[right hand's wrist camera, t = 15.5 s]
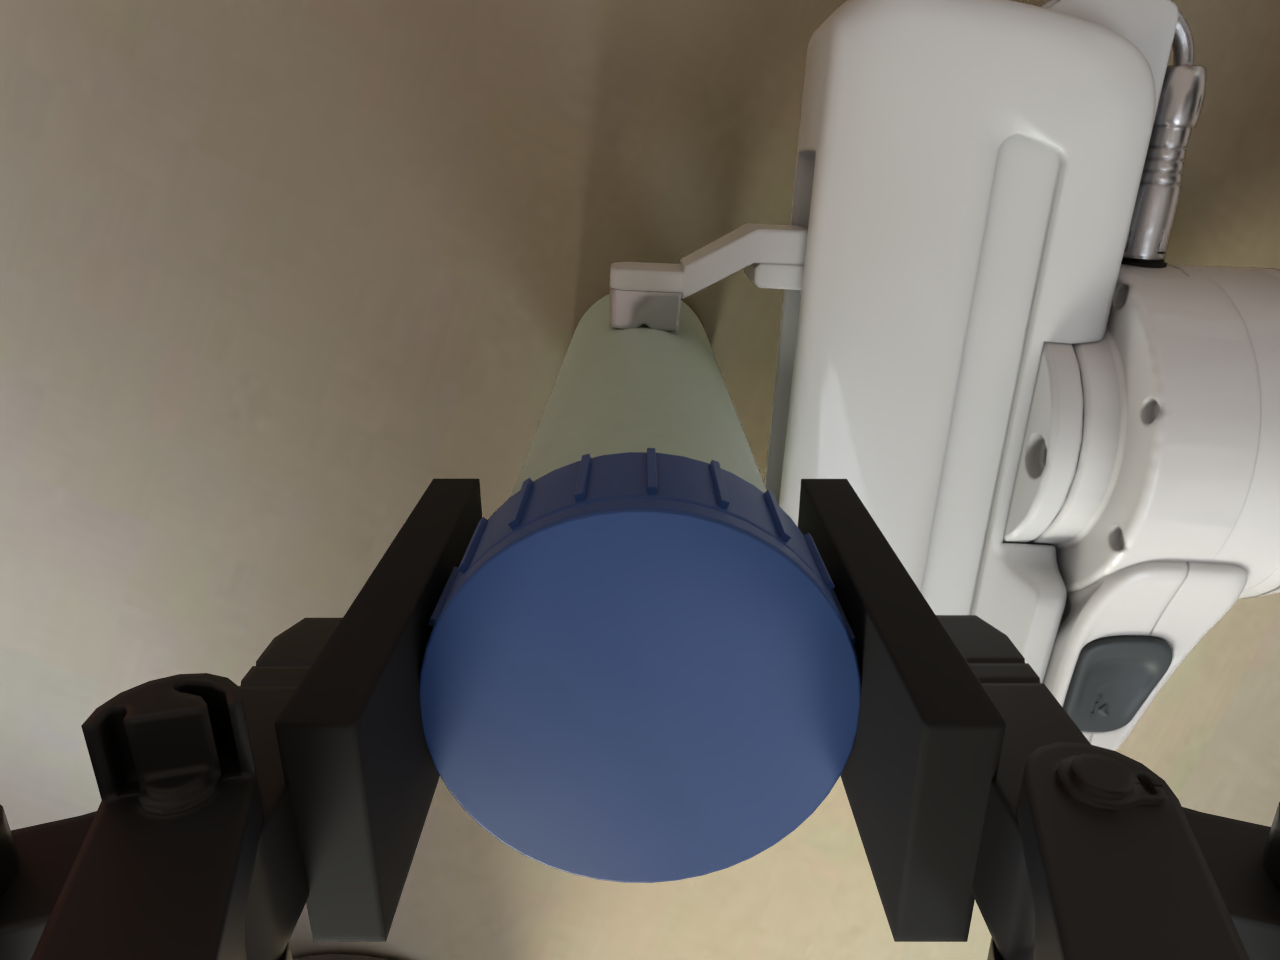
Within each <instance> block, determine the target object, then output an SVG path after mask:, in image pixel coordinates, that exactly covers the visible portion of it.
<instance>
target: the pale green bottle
mask: <svg viewBox="0 0 1280 960" xmlns="http://www.w3.org/2000/svg"><path fill="white" fill-rule="evenodd" d="M609 307H610V294H608V295H606V296H604V297H603V298H601V299H599V300H598V301H597V302H596V303H594V304H593V305H592V306H591V307H590V308H589V309H588V310H587V311H586V313H585V314H584V315H583V317H582V318H581V320H580V321H579V323H578V325H577V327H576V329H575V332H574V335H573V337H572V340H571V342H570V345H569V348H568V350H567V353H566V355H565V358H564V361H563V363H562V366H561V368H560V371H559V374H558V376H557V379H556V381H555V384H554V387H553V389H552V392H551V394H550V397H549V400H548V402H547V405H546V407H545V410H544V413H543V415H542V418H541V420H540V423H539V426H538V428H537V431H536V433H535V436H534V439H533V441H532V444H531V446H530V449H529V452H528V454H527V457H526V459H525V462H524V465H523V467H522V470H521V472H520V475H519V478H518V480H517V483H516V485H515V488H514V491H513V493H512V496H513V495H514V494H516V493H517V492H518V491H520V490H521V487H522V484H523V482H524V481H525V480H526V479H528V478H531V480H532V481H535V480H536V479H538V478H540V477H542V476H544V475H546V474H548V473H549V472H551V471H553V470H556V469H559V468H561V467H564V466H566V465H569V464H572V463H574V462H577V461H581V458H582V455H585V454H590V457H591V458H593V457H597V456H602V455H609V454H618V453H627V452H647V448H655V452H656V453H663V454H670V455H678V456H684V457H687V458H691V459H695V460H699V461H702V462H706V463H709V464H710V463H711V460H714V461H717V462H719V464H720V468H721V469H724V470H726V471H729V472H731V473H733V474H735V475H737V476H738V477H740V478H742V479H744V480H745V481H747V482H749V483H751V484H752V485H754V486H755V487H757V488H758V489H759V490H761V491H762V492H763V493H765V492H766V491H767V490H766V488H765V485H764V483H763V480H762V477H761V475H760V472H759V470H758V467H757V465H756V462H755V459H754V457H753V454H752V452H751V449H750V446H749V444H748V441H747V439H746V436H745V433H744V431H743V428H742V426H741V423H740V420H739V418H738V415H737V413H736V410H735V407H734V405H733V402H732V400H731V397H730V395H729V392H728V389H727V387H726V384H725V382H724V379H723V376H722V374H721V371H720V369H719V366H718V363H717V361H716V358H715V356H714V353H713V350H712V348H711V345H710V343H709V340H708V338H707V335H706V332H705V330H704V328H703V326H702V323H701V322H700V320H699V318H698V317H697V315H696V314H695V313H694V312H693V310H692V309H691V308H690V307H689V306H688V305H687V304H686V303H684V302H683V301H682V300H681V311H680V324H679V331H663V330H656V329H651V328H650V327H648V326H647V325H646V324H642V325H641V326H639V327H638V328H632V329H621V328H615V327H611V326H609Z"/></svg>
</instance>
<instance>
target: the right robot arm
mask: <svg viewBox="0 0 1280 960" xmlns="http://www.w3.org/2000/svg"><path fill="white" fill-rule="evenodd" d="M481 519H482V510H481V496H480V482H479V479H433V480H432V482H431V484H430V485H429V487H428V488H427V490H426V491H425V493H424V494H423V496H422V497H421V499H420V500H419V502H418V504H417V505H416V507H415V508H414V510H413V511H412V513H411V514H410V516H409V517H408V519H407V520H406V522H405V524H404V525H403V527H402V528H401V530H400V531H399V533H398V534H397V536H396V537H395V539H394V540H393V542H392V543H391V545H390V547H389V548H388V550H387V551H386V553H385V554H384V556H383V557H382V559H381V560H380V562H379V563H378V565H377V567H376V568H375V570H374V571H373V573H372V574H371V576H370V577H369V579H368V580H367V582H366V583H365V585H364V586H363V588H362V590H361V591H360V593H359V594H358V596H357V597H356V599H355V600H354V602H353V603H352V605H351V606H350V608H349V610H348V611H347V613H346V614H345V616H344V617H343V618H304V619H303V620H301V621H300V622H298V623H297V624H295V625H294V626H292V627H290V628H289V629H287V630H286V631H284V632H283V633H281V634H280V635H278V636H277V637H275V638H274V639H273V640H272V642H271V643H270V644H269V646H268V647H267V648H266V650H265V651H264V652H263V653H262V655H261V656H260V657H259V659H258V660H257V661H256V666H252V668H251V669H250V670H249V672H248V673H247V674H246V676H245V677H244V678H243V679H242V681H241V686H237V685H236V684H235V683H233V682H232V681H231V680H230V679H228V678H226V677H221V676H217V675H212V674H207V673H201V674H179V675H174V676H170V677H166V678H161V679H157V680H152V681H149V682H146V683H144V684H141V685H139V686H136V687H134V688H131V689H129V690H127V691H124V692H122V693H120V694H118V695H117V696H115V697H114V698H112V699H110V700H109V701H107V702H106V703H104V704H103V705H101V706H100V707H98V708H97V709H96V710H95V711H94V712H93V713H92V714H91V715H90V717H89V718H88V719H87V720H86V721H85V722H84V724H83V725H82V730H83V733H84V737H85V740H86V744H87V748H88V751H89V755H90V759H91V762H92V766H93V770H94V773H95V777H96V780H97V784H98V788H99V791H100V795H101V799H102V802H101V804H100V806H99V808H98V810H97V811H96V812H92V813H89V814H85V815H81V816H77V817H73V818H68V819H63V820H59V821H54V822H49V823H45V824H40V825H35V826H31V827H26V828H21V829H17V830H12V831H10V828H9V824H8V821H7V818H6V815H5V812H4V809H3V806H1V805H0V960H386V959H382V958H377V957H370V956H363V955H349V954H325V955H312V956H305V957H299V958H294V959H292V954H291V949H290V944H289V939H290V937H291V934H292V932H293V930H294V928H295V926H296V923H297V921H298V919H299V917H300V915H301V912H302V910H303V908H304V906H305V903H307V909H308V914H309V920H310V925H311V931H312V936H313V941H386V939H387V936H388V933H389V930H390V927H391V924H392V921H393V918H394V915H395V912H396V909H397V906H398V902H399V899H400V896H401V893H402V890H403V887H404V884H405V881H406V878H407V875H408V872H409V869H410V866H411V863H412V859H413V856H414V853H415V850H416V847H417V844H418V841H419V838H420V835H421V832H422V829H423V826H424V823H425V820H426V817H427V813H428V810H429V807H430V804H431V801H432V798H433V795H434V792H435V789H436V786H437V783H438V780H439V777H440V774H439V773H438V771H437V769H436V767H435V765H434V762H433V760H432V757H431V755H430V752H429V750H428V748H427V745H426V741H425V737H424V731H423V723H422V714H421V704H420V694H419V680H420V670H421V665H422V661H423V656H424V652H425V647H426V645H427V642H428V640H429V637H430V635H431V632H432V630H433V626H430V625H428V624H429V621H430V618H431V616H432V614H433V611H434V609H435V607H436V605H437V603H438V600H439V598H440V596H441V594H442V592H443V590H444V587H445V585H446V583H447V581H448V579H449V576H450V574H451V572H452V570H453V568H454V567H457V568H459V565H460V563H461V561H462V559H463V556H464V554H465V552H466V550H467V547H468V545H469V543H470V541H471V538H472V536H473V534H474V532H475V530H476V527H477V525H478V523H479V521H480V520H481ZM798 528H799V530H800V531H801V532H802V534H803V535H806V534H808V533H809V534H810V535H811V537H812V538H813V540H814V543H815V545H816V547H817V549H818V551H819V553H820V556H821V558H822V560H823V562H824V564H825V567H826V569H827V571H828V573H829V575H830V577H831V580H832V582H833V584H834V586H835V587H834V588H833V590H834V592H835V594H836V596H837V599H838V601H839V603H840V605H841V607H842V610H843V612H844V614H845V616H846V619H847V621H848V623H849V625H850V627H851V630H852V632H853V634H854V636H855V645H854V648H855V650H856V654H857V659H858V665H859V670H860V675H861V698H860V708H859V717H858V726H857V734H856V737H855V741H854V744H853V748H852V751H851V753H850V756H849V758H848V760H847V762H846V765H845V767H844V769H843V771H842V773H841V778H842V781H843V784H844V788H845V791H846V794H847V797H848V800H849V803H850V806H851V809H852V812H853V815H854V818H855V821H856V824H857V827H858V830H859V834H860V837H861V840H862V843H863V846H864V849H865V852H866V855H867V858H868V861H869V864H870V867H871V870H872V873H873V876H874V880H875V883H876V886H877V889H878V892H879V895H880V898H881V901H882V904H883V907H884V910H885V913H886V916H887V919H888V922H889V926H890V929H891V932H892V935H893V938H894V941H910V942H967V939H968V934H969V928H970V922H971V917H972V911H973V906H974V900H976V902H977V905H978V907H979V909H980V911H981V913H982V916H983V918H984V920H985V922H986V924H987V927H988V929H989V931H990V933H991V935H992V938H991V944H990V949H989V954H988V959H987V960H1280V803H1279V805H1278V808H1277V811H1276V814H1275V817H1274V820H1273V823H1272V827H1267V826H1263V825H1258V824H1253V823H1249V822H1244V821H1239V820H1235V819H1230V818H1225V817H1221V816H1216V815H1211V814H1206V813H1202V812H1198V811H1195V810H1191V809H1187V808H1184V807H1181V804H1180V802H1179V800H1178V798H1177V797H1176V796H1175V794H1174V793H1173V792H1172V790H1171V789H1170V788H1169V786H1168V785H1167V784H1166V782H1165V781H1164V780H1163V779H1162V778H1160V777H1159V776H1158V775H1156V774H1155V773H1154V772H1152V771H1151V770H1150V769H1148V768H1147V767H1146V766H1144V765H1143V764H1142V763H1139V762H1137V761H1135V760H1133V759H1131V758H1129V757H1127V756H1124V755H1122V754H1120V753H1118V752H1116V751H1114V750H1110V749H1106V748H1102V747H1098V746H1094V745H1091V744H1090V742H1089V741H1088V740H1087V738H1086V737H1085V736H1084V735H1083V733H1082V732H1081V731H1080V729H1079V728H1078V727H1077V725H1076V724H1075V723H1074V722H1073V720H1072V719H1071V718H1070V716H1069V715H1068V714H1067V713H1066V711H1065V710H1064V709H1063V707H1062V706H1061V705H1060V704H1059V702H1058V701H1057V700H1056V698H1055V697H1054V696H1053V694H1052V693H1051V692H1050V691H1049V689H1048V688H1047V687H1046V685H1045V684H1044V683H1040V678H1039V676H1038V675H1037V674H1036V672H1035V671H1034V670H1033V669H1032V667H1031V666H1030V665H1029V663H1025V658H1024V657H1023V656H1022V654H1021V653H1020V652H1019V651H1018V649H1017V648H1016V647H1015V645H1014V644H1013V643H1012V641H1011V640H1010V639H1009V638H1008V636H1007V635H1005V634H1004V633H1002V632H1001V631H999V630H998V629H996V628H995V627H993V626H992V625H990V624H989V623H987V622H985V621H984V620H982V619H981V618H979V617H978V616H976V615H935V613H934V612H933V610H932V609H931V607H930V606H929V604H928V603H927V601H926V600H925V598H924V596H923V595H922V593H921V592H920V590H919V589H918V587H917V586H916V584H915V583H914V581H913V580H912V578H911V577H910V575H909V573H908V572H907V570H906V569H905V567H904V566H903V564H902V563H901V561H900V560H899V558H898V557H897V555H896V553H895V552H894V550H893V549H892V547H891V546H890V544H889V543H888V541H887V540H886V538H885V537H884V535H883V534H882V532H881V530H880V529H879V527H878V526H877V524H876V523H875V521H874V520H873V518H872V517H871V515H870V514H869V512H868V510H867V509H866V507H865V506H864V504H863V503H862V501H861V500H860V498H859V497H858V495H857V494H856V492H855V491H854V489H853V487H852V486H851V484H850V483H849V481H848V480H847V479H801V488H800V502H799V516H798Z"/></svg>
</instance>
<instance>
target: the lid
mask: <svg viewBox="0 0 1280 960" xmlns="http://www.w3.org/2000/svg"><path fill="white" fill-rule="evenodd" d="M834 587H835V586H834V584H833V582H832V580H831V577H830V575H829V573H828V571H827V569H826V567H825V564H824V562H823V560H822V558H821V556H820V553H819V551H818V549H817V547H816V545H815V543H814V540H813V538H812V537H811V535H810V534H809V533H808V534H806V535H803V534H802V532H801V531H800V530H799V528H798V527H797V526H796V524H795V523H794V521H793V520H792V519H791V518H790V517H789V516H788V515H787V514H786V512H785V511H784V510H783V509H782V508H781V507H780V506H779V505H778V504H777V501H776V499H775V496H774V494H773V493H772V492H771V491H769V490H767V491H766V492H765V493H763V492H762V491H761V490H759V489H758V488H757V487H755V486H754V485H752V484H751V483H749V482H747V481H745V480H744V479H742V478H740V477H738V476H737V475H735V474H733V473H731V472H729V471H726V470H724V469H721V468H720V464H719V462H717V461H714V460H711V463H710V464H709V463H706V462H702V461H699V460H695V459H691V458H687V457H684V456H678V455H670V454H663V453H656V452H655V448H647V452H627V453H618V454H609V455H602V456H597V457H593V458H591V457H590V454H585V455H582V458H581V461H577V462H574V463H572V464H569V465H566V466H564V467H561V468H559V469H556V470H553V471H551V472H549V473H548V474H546V475H544V476H542V477H540V478H538V479H536V480H535V481H532V480H531V478H528V479H526V480H525V481H524V482H523V484H522V487H521V490H520V491H518V492H517V493H516V494H514V495H513V496H511V497H510V498H509V499H508V500H507V501H506V502H505V503H504V504H503V505H502V506H501V507H500V508H499V509H497V510H496V511H495V512H494V513H493V514H492V516H491V517H490V518H489V519H488V520H487V519H485V518H484V517H483V518H482V519H481V520H480V521H479V523H478V525H477V527H476V530H475V532H474V534H473V536H472V538H471V541H470V543H469V545H468V547H467V550H466V552H465V554H464V556H463V559H462V561H461V563H460V565H459V568H457V567H454V568H453V570H452V572H451V574H450V576H449V579H448V581H447V583H446V585H445V587H444V590H443V592H442V594H441V596H440V598H439V600H438V603H437V605H436V607H435V609H434V611H433V614H432V616H431V618H430V621H429V624H428V625H430V626H433V630H432V632H431V635H430V637H429V640H428V642H427V645H426V647H425V652H424V656H423V661H422V665H421V670H420V680H419V694H420V704H421V714H422V723H423V731H424V737H425V741H426V745H427V748H428V750H429V752H430V755H431V757H432V760H433V762H434V765H435V767H436V769H437V771H438V773H439V774H440V776H441V778H442V779H443V781H444V783H445V784H446V786H447V788H448V790H449V791H450V792H451V793H452V795H453V796H454V797H455V798H456V800H457V801H458V802H459V804H460V805H461V806H462V807H463V809H464V810H465V811H466V812H467V813H468V814H469V815H470V816H471V817H472V818H473V819H474V820H476V821H477V822H478V823H479V824H480V825H481V826H482V827H483V828H484V829H486V830H487V831H488V832H489V833H491V834H492V835H493V836H495V837H496V838H497V839H499V840H500V841H501V842H503V843H504V844H506V845H508V846H509V847H511V848H513V849H514V850H516V851H518V852H519V853H521V854H523V855H525V856H527V857H529V858H531V859H534V860H536V861H538V862H540V863H542V864H545V865H547V866H550V867H553V868H556V869H559V870H562V871H565V872H568V873H571V874H575V875H579V876H584V877H589V878H593V879H598V880H607V881H616V882H629V883H653V882H664V881H675V880H681V879H686V878H691V877H696V876H702V875H705V874H708V873H712V872H715V871H718V870H722V869H725V868H728V867H730V866H733V865H735V864H737V863H740V862H742V861H744V860H747V859H749V858H751V857H753V856H755V855H757V854H759V853H760V852H762V851H764V850H766V849H767V848H769V847H771V846H773V845H774V844H776V843H777V842H778V841H780V840H781V839H783V838H784V837H785V836H787V835H788V834H790V833H791V832H792V831H794V830H795V829H796V828H797V827H798V826H799V825H800V824H801V823H802V822H803V821H805V820H806V819H807V818H808V817H809V816H810V815H811V814H812V813H813V812H814V811H815V810H816V808H817V807H818V806H819V805H820V804H821V802H822V801H823V800H824V799H825V798H826V796H827V795H828V794H829V792H830V791H831V789H832V788H833V786H834V784H835V783H836V781H837V780H838V778H839V777H840V775H841V773H842V771H843V769H844V767H845V765H846V762H847V760H848V758H849V756H850V753H851V751H852V748H853V744H854V741H855V737H856V734H857V726H858V717H859V708H860V698H861V675H860V670H859V665H858V659H857V654H856V650H855V648H854V645H855V636H854V634H853V632H852V630H851V627H850V625H849V623H848V621H847V619H846V616H845V614H844V612H843V610H842V607H841V605H840V603H839V601H838V599H837V596H836V594H835V592H834V590H833V588H834Z"/></svg>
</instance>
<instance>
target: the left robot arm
mask: <svg viewBox="0 0 1280 960" xmlns="http://www.w3.org/2000/svg"><path fill="white" fill-rule="evenodd" d="M1171 47H1172V48H1173V60H1174V65H1171V66H1167V65H1168V60H1169V56H1170V52H1171ZM1193 64H1194V45H1193V38H1192V34H1191V31H1190V28H1189V25H1188V23H1187V21H1186V19H1185V18H1184V16H1183V15H1182V13H1181V12H1180V11H1179V9H1178V8H1177V6H1176V4H1175V3H1174V2H1173V1H1171V0H1048V1H1046V2H1045V3H1043V4H1042V5H1041V6H1034V5H1030V4H1026V3H1021V2H1016V1H1012V0H847V1H846V2H844V3H843V4H842V5H841V6H840V7H838V8H837V9H836V10H835V11H834V12H833V13H832V14H831V15H830V16H829V17H828V18H827V19H826V20H825V21H824V22H823V23H822V24H821V25H820V26H819V28H818V29H817V30H816V31H815V32H814V33H813V35H812V37H811V38H810V41H809V44H808V49H807V57H806V66H805V76H804V87H803V97H802V107H801V117H800V127H799V137H798V148H797V158H796V168H795V178H794V188H793V198H792V208H791V219H790V225H782V224H755V223H746V224H745V225H743V226H741V227H739V228H737V229H735V230H733V231H732V232H730V233H728V234H726V235H724V236H722V237H720V238H719V239H717V240H715V241H713V242H711V243H709V244H708V245H706V246H704V247H702V248H700V249H698V250H696V251H695V252H693V253H691V254H689V255H687V256H685V257H683V258H682V259H681V261H680V264H671V263H647V262H616V263H612V264H611V268H610V307H609V326H611V327H615V328H621V329H632V328H638V327H639V326H641V325H642V324H646V325H647V326H648V327H650V328H651V329H656V330H663V331H679V324H680V311H681V298H683V299H684V298H686V297H688V296H690V295H692V294H694V293H696V292H698V291H700V290H702V289H704V288H706V287H708V286H710V285H712V284H714V283H716V282H718V281H719V280H721V279H723V278H725V277H727V276H729V275H731V274H733V273H735V272H737V271H739V270H741V269H743V268H745V269H744V273H745V274H746V275H747V277H748V278H749V279H750V280H751V281H752V282H753V283H754V284H755V285H756V286H757V287H758V288H772V289H784V290H783V300H782V310H781V320H780V330H779V341H778V351H777V361H776V371H775V381H774V391H773V402H772V412H771V422H770V432H769V442H768V452H767V463H766V473H765V483H764V485H765V488H766V490H769V491H771V492H772V493H773V494H774V496H775V499H776V501H777V504H778V505H779V506H780V507H781V508H782V509H783V510H784V511H785V512H786V514H787V515H788V516H789V517H790V518H791V519H792V520H793V521H794V523H795V524H796V526H797V527H798V516H799V502H800V488H801V479H847V480H848V481H849V483H850V484H851V486H852V487H853V489H854V491H855V492H856V494H857V495H858V497H859V498H860V500H861V501H862V503H863V504H864V506H865V507H866V509H867V510H868V512H869V514H870V515H871V517H872V518H873V520H874V521H875V523H876V524H877V526H878V527H879V529H880V530H881V532H882V534H883V535H884V537H885V538H886V540H887V541H888V543H889V544H890V546H891V547H892V549H893V550H894V552H895V553H896V555H897V557H898V558H899V560H900V561H901V563H902V564H903V566H904V567H905V569H906V570H907V572H908V573H909V575H910V577H911V578H912V580H913V581H914V583H915V584H916V586H917V587H918V589H919V590H920V592H921V593H922V595H923V596H924V598H925V600H926V601H927V603H928V604H929V606H930V607H931V609H932V610H933V612H934V613H935V615H976V616H978V617H979V618H981V619H982V620H984V621H985V622H987V623H989V624H990V625H992V626H993V627H995V628H996V629H998V630H999V631H1001V632H1002V633H1004V634H1005V635H1007V636H1008V638H1009V639H1010V640H1011V641H1012V643H1013V644H1014V645H1015V647H1016V648H1017V649H1018V651H1019V652H1020V653H1021V654H1022V656H1023V657H1024V658H1025V663H1029V665H1030V666H1031V667H1032V669H1033V670H1034V671H1035V672H1036V674H1037V675H1038V676H1039V678H1040V683H1044V684H1045V685H1046V687H1047V688H1048V689H1049V691H1050V692H1051V693H1052V694H1053V696H1054V697H1055V698H1056V700H1057V701H1058V702H1059V704H1060V705H1061V706H1062V707H1063V709H1064V710H1065V711H1066V713H1067V714H1068V715H1069V716H1070V718H1071V719H1072V720H1073V722H1074V723H1075V724H1076V725H1077V727H1078V728H1079V729H1080V731H1081V732H1082V733H1083V735H1084V736H1085V737H1086V738H1087V740H1088V741H1089V742H1090V744H1091V745H1094V746H1098V747H1102V748H1106V749H1110V750H1114V751H1115V750H1117V749H1118V748H1119V747H1120V745H1121V744H1122V743H1123V742H1124V741H1125V739H1126V738H1127V737H1128V735H1129V734H1130V732H1131V731H1132V729H1133V728H1134V727H1135V725H1136V724H1137V722H1138V721H1139V719H1140V718H1141V716H1142V715H1143V713H1144V712H1145V710H1146V709H1147V708H1148V706H1149V705H1150V703H1151V702H1152V700H1153V699H1154V698H1155V696H1156V695H1157V693H1158V692H1159V691H1160V689H1161V688H1162V687H1163V685H1164V684H1165V683H1166V681H1167V680H1168V679H1169V677H1170V676H1171V675H1172V673H1173V672H1174V671H1175V669H1176V668H1177V667H1178V666H1179V664H1180V663H1181V662H1182V661H1183V659H1184V658H1185V657H1186V656H1187V654H1188V653H1189V652H1190V651H1191V650H1192V649H1193V648H1194V646H1195V645H1196V644H1197V643H1198V642H1199V641H1200V640H1201V638H1202V637H1203V636H1204V635H1205V634H1206V633H1207V632H1208V631H1209V630H1210V629H1211V628H1212V627H1213V626H1214V625H1215V624H1216V623H1217V622H1218V621H1219V620H1220V619H1221V618H1222V617H1223V616H1224V615H1225V614H1226V613H1227V612H1228V610H1229V609H1230V608H1231V607H1232V606H1233V605H1234V603H1235V602H1236V601H1237V599H1246V598H1253V597H1258V596H1263V595H1269V594H1274V593H1280V269H1273V268H1251V267H1226V266H1202V265H1178V264H1167V263H1165V262H1164V259H1165V255H1166V251H1167V247H1168V243H1169V239H1170V235H1171V231H1172V227H1173V223H1174V219H1175V215H1176V211H1177V207H1178V202H1179V196H1180V191H1181V186H1180V183H1182V175H1183V174H1181V171H1183V167H1184V162H1182V161H1183V159H1185V155H1186V149H1185V148H1186V147H1187V146H1188V142H1189V139H1190V135H1191V131H1192V128H1194V127H1196V125H1197V122H1198V120H1199V117H1200V113H1201V110H1202V106H1203V102H1204V97H1205V90H1206V68H1205V67H1204V66H1201V65H1193Z"/></svg>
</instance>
